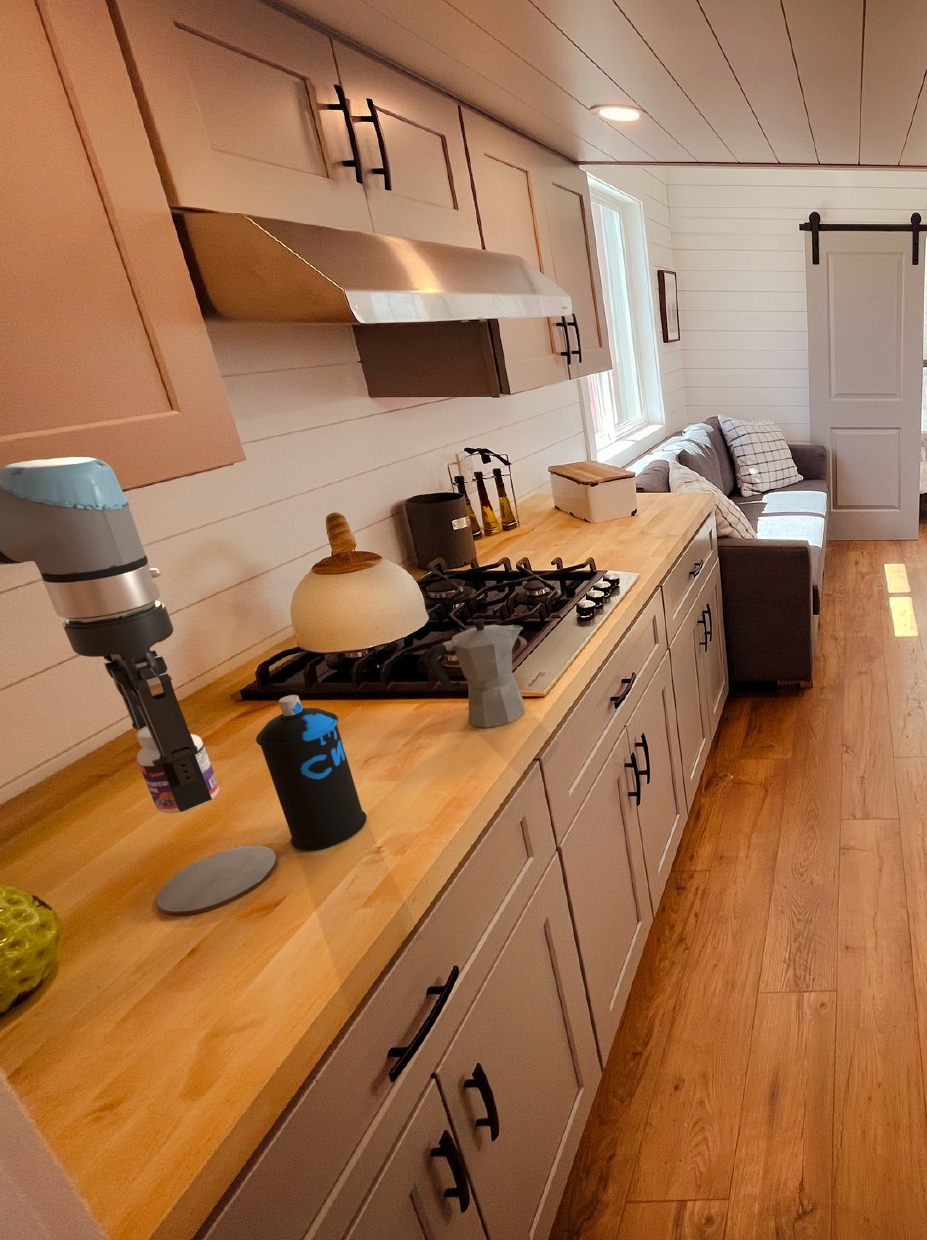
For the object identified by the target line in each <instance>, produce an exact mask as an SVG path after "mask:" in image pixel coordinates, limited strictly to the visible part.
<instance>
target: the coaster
mask: <svg viewBox="0 0 927 1240" xmlns="http://www.w3.org/2000/svg"><path fill="white" fill-rule="evenodd" d="M278 861H279V859H278V855H277V853H276V852H275V850H274V849H272V848H270V847H268V846H265V845H256V844H255V845H254V844H253V845H243V846H236V847H233V848H229V849H225V850H221V851H219V852H215V853H213V854H211V855H209V856H205V857H204V858H201V859H199V860H197V861H195V862H193V863H191V864H190V865H188V866H186V867H184V868H182V869H181V870H180V871H179V872H177V873H175V874H174V875H173V876H171V877H170V878H169V879H168V880H167V881H166V882H165V883H164V884H163V885H162V886H161V888H160V889H159V890H158V893H157V894H156V898H155V903H156V906H157V907H158V908H157V909H158V910H159V911H160V912H161V913H163V914H165V915H167V916H168V915H169V916H174V917H175V916H176V917H177V916H178V917H180V916H191V915H197V914H202V913H205V912H209V911H212V910H215V909H218V908H221V907H223V906H226V905H228V904H231V903H232V902H235V901H237V900H239V899H241V898H242V897H244V896H246V895H248V894H249V893H251V892H253V891H254V890H255V889H257V888H258V887H260V886H261V885H262V884H264V882H266V881H267V880H268V878H269V877H271V875H272V874H273V873H274V871H275V870H276V868H277V865H278Z"/></svg>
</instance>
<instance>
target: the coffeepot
mask: <svg viewBox="0 0 927 1240" xmlns="http://www.w3.org/2000/svg"><path fill="white" fill-rule="evenodd" d="M473 624H474V626H475V627H470V628H468V629H466V630H464V631H461V632H459V633H456V634H454V635H453V636H452V639H451V640H447V641H444V642H442V643H439V644H436V645H433V646H432V647H431V648H430V649H429V651H428V652H427V654H426V656H425V657H424V663H425V665H426V667H428V669H429V670H430V671H431V673H432V674H433V675H434V677H436V680H437V681H438V682H439V683H440V685H441V686H442V687H443V689H444V690H446V691H452V690H455V689H457V688H459V687H460V685H461V683H460V681H456V682H451V681H450V677H449V675H448V673H446V672H445V671H444V669H443V666H442V663H441V662H440V661H439V659H438V658H439V657H440V656H444V655H451V654H455V656H456V657H455V658H456V659H457V661H458V665H459V667H460V669H461V672H462V674H463V676H464V678H465V679H467V681H468V682H467V683H468V685H467V687H468V692H467V693H468V724H469V725H472V726H474V727H477V728H484V729H488V728H497V727H501V726H505V725H507V724H510V723H512V722H514V721H516V720H518V719H519V718H521V717H522V716H523V714H525V713H526V705H525V701H524V697H523V696H522V694H521V691H520V689H519V686H518V683H517V681H516V679H515V677H514V675H513V671H512V670H513V648H514V646H515V643H516V641H517V639H518V636H519V634H520V632H521V631H522V630H524V627H523V626H521V625H520V624H516V625H515V624H510V625H498V624H489V625H485V619H484V618H477V619H475V620H473Z"/></svg>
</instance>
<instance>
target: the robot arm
mask: <svg viewBox="0 0 927 1240" xmlns="http://www.w3.org/2000/svg"><path fill="white" fill-rule="evenodd" d="M132 514H133V513H132V511H131V508H130V502H129V499H128V498H127V497H126V496H125V494H124V492H123V490H122V487H121V485H120V483H119V481H118V479H117V476H116V474H115V472H114V470H113V468H112V467H111V466H110V465H109V464H108V463H107V462H105V461H104V460H101V459H99V458H94V457H88V456H87V457H86V456H85V457H82V456H80V457H79V456H76V457H75V456H74V457H73V456H70V457H56V458H55V457H54V458H47V459H33V460H25V461H19V462H13V463H10V464H7V465H4V466H2V467H0V566H1V565H13V564H14V565H15V564H22V563H26V562H27V563H29V562H34V564H35V566H36V567H37V569H38V571H39V573H40V576H41V581H42V582H43V585H44V587H45V589H46V593H47V595H48V597H49V599H50V601H51V605H52V606H53V609H54V611H55V613H56V615H57V616H58V617H60V618H64V622H62V627H63V630H64V632H65V635H66V636H67V639H68V641H69V644H70V646H71V648H72V651H73V652H74V653H75V654H77V655H78V656H82V657H86V658H87V657H88V658H89V657H90V658H100V657H102V658H103V659H104V660H106V662H104V663H103V665H104V668H105V671H106V672H107V674H108V675H109V676H110V678H112V679H113V683H114V685H115V688H116V690H117V691H118V692H119V694H120V695H121V698H122V700H123V703H124V705H125V707H126V710H127V713H128V716H129V717H130V720H131V722H132V723H131V726H132V728H133V729H134V730H136V731H137V732H138V731H139V730H140V729H142V728H144V727H145V726H147V728H148V730H149V732H150V734H151V737H152V739H153V741H154V743H155V745H156V748H157V750H158V752H159V754H160V757H159V759H157V760H154V761H152V763H153V765H154V766H155V767H156V766H159V765H161V767H162V769H163V772H164V774H165V777H166V779H167V782H168V784H169V787H170V789H171V792H172V794H173V797H174V799H175V801H176V804H177V806H178V809H179V810H180V812H179V813H183V812H186V811H185V810H187V809H190V808H192V807H195V806H197V805H200V804H202V803H205V802H206V803H208V802H210V801H212V800H213V798H211V795H210V793H209V790H208V787H207V785H206V782H205V780H204V777H203V774H202V772H201V769H200V767H199V764H198V761H197V759H196V756H195V754H197V752H198V751H197V750H198V748H197V746H195V744H194V742H193V739H192V737H191V734H192V733H191V732H190V728H189V725H188V723H187V721H186V719H185V716H184V714H183V711H182V708H181V706H180V703H179V701H178V698H177V695H176V692H175V690H174V687H173V683H172V680H173V678H172V677H171V675H170V674H169V673H167V671H168V665H167V663H166V661H165V659H164V657H163V656H162V655H159V656H158V653H157V651H156V650H155V649H152V650H151V648H152V647H153V646H154V645H156V644H159V643H162V642H163V641H166V640H167V639H168V638H170V637H171V636H172V635H173V633H174V626H173V623H172V621H171V618H170V615H169V613H168V610H167V607H166V605H165V603H164V602H161V600H159V598H160V597H161V593H160V590H159V587H158V585H157V582H156V581H154V580H153V579H157V578H159V577H161V575H162V573H161V570H160V569H158V568H156V567H155V568H151V566H150V564H149V560H148V557H147V555H146V552H145V549H144V546H143V543H142V540H141V538H140V535H139V532H138V529H137V526H136V523H135V520H134V516H133V515H132ZM188 728H189V729H188ZM207 801H208V802H207ZM206 803H205V804H206ZM182 811H183V812H182ZM187 811H188V810H187Z"/></svg>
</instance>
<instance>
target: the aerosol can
mask: <svg viewBox="0 0 927 1240" xmlns="http://www.w3.org/2000/svg"><path fill="white" fill-rule="evenodd" d="M278 704H279V707H280V710H281V714H279V715H277V716H275V717H273V718H272V719H270V720H269V721H268V722H267V723H266V724H265V725H264V726H263V728H262V729H261V730H260V731H259V732H258V733H257V735H256V736H255V737H256V738H255V743H257V745H258V746H260V748H261V750H262V751H261V752H262V754H263V757H264V759H265V763H266V766H267V768H268V772H269V775H270V777H271V780H272V783H273V787H274V789H275V792H276V795H277V798H278V801H279V804H280V806H281V810H282V812H283V815H284V818H285V821H286V825H287V826H288V830H289V833H290V836H291V837H290V844H291V846H292V847H293V848H294V849H296V850H300V851H318V850H324V849H326V848H327V849H328V848H331V847H333V846H336V845H339V844H341V843H343V842H345V841H347V840H348V839H350V838H352V837H353V836H354V835H356V834H358V833H359V831H361V829H362V828H363V827H364V826H365V824H366V822H367V818H368V817H367V814H366V812H365V811H363V809H362V805H361V801H360V798H359V794H358V791H357V788H356V784H355V781H354V778H353V775H352V774H353V773H352V771H351V767H350V764H349V761H348V757H347V754H346V751H345V747H344V743H343V740H342V737H341V734H340V730H339V727H338V722H339V717H338V716H337V714H336V713H334V712H331V711H327V710H326V709H325V710H324V709H321V708H319V707H302V704H301V700H300V697H299V695H297V694H290V695H287V696H283V697H281V698H280V699H279V700H278Z"/></svg>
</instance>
